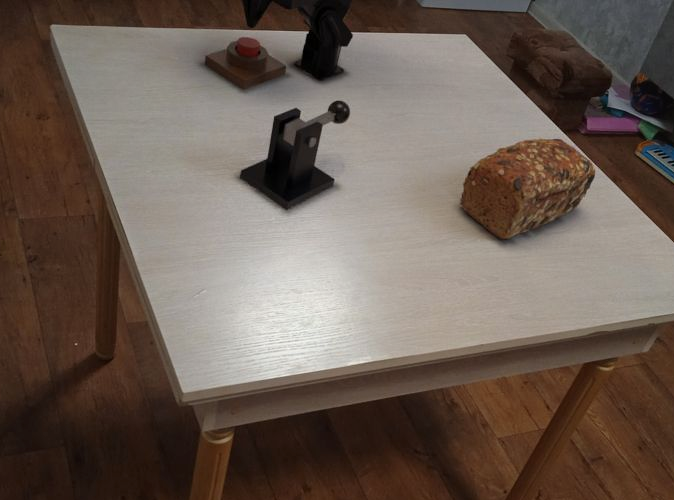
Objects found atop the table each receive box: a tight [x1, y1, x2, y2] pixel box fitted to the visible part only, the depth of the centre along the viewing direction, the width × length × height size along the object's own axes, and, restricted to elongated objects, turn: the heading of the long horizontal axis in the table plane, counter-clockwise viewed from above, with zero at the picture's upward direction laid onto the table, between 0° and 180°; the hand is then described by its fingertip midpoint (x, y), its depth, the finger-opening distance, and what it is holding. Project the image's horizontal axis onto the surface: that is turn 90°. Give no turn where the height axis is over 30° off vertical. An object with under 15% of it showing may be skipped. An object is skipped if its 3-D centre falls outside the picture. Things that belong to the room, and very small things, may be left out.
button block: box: [204, 40, 287, 90], centre depth 136 cm, size 10×9×4 cm
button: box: [237, 36, 261, 57], centre depth 135 cm, size 4×4×2 cm
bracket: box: [239, 107, 335, 210], centre depth 114 cm, size 10×9×10 cm
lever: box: [283, 99, 351, 146], centre depth 114 cm, size 12×3×3 cm, turn 140°
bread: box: [459, 137, 596, 240], centre depth 121 cm, size 19×11×10 cm, turn 130°
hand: (251, 27), depth 132 cm, fingers closed
